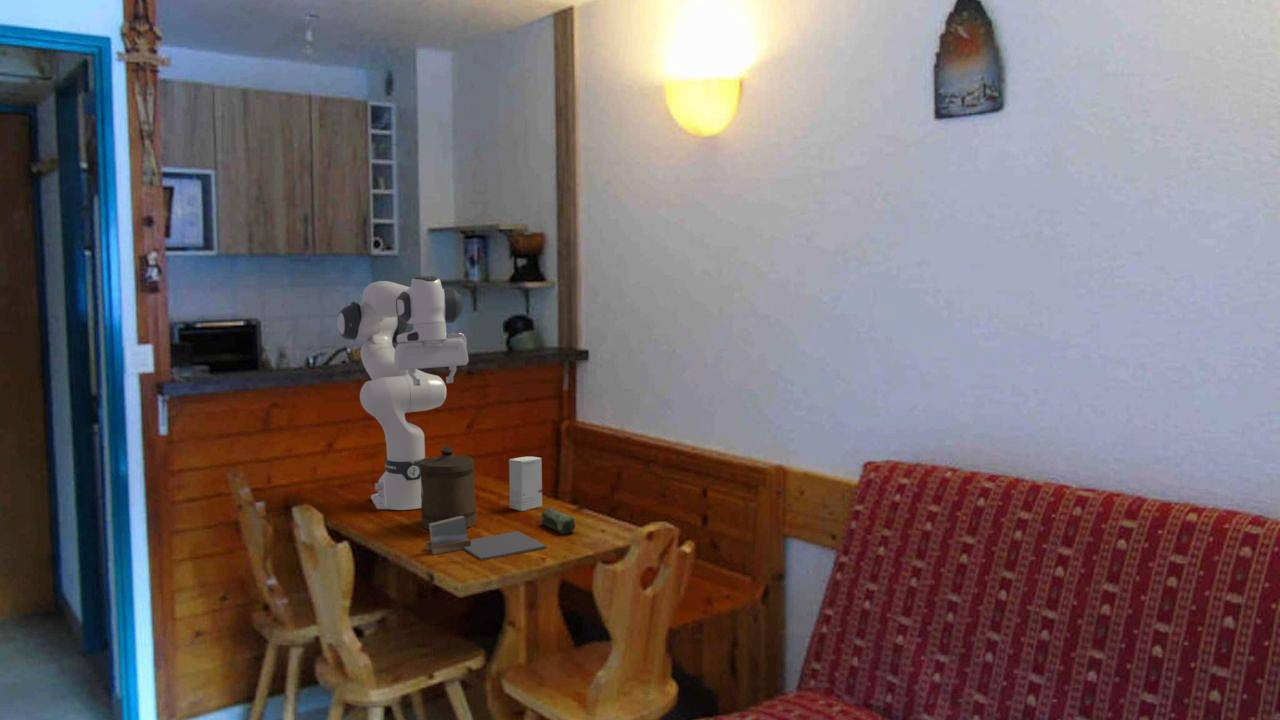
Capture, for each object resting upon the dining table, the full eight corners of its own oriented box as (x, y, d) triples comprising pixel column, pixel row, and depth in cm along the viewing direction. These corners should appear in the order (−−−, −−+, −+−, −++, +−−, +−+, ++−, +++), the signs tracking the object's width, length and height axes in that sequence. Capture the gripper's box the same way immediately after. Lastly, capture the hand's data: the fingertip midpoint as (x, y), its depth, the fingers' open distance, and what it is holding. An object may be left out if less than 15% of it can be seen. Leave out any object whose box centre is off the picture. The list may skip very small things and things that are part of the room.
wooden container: (444, 514, 289) (442, 439, 286) (486, 521, 282) (484, 444, 279) (410, 527, 276) (408, 449, 273) (453, 534, 269) (451, 454, 266)
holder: (425, 549, 256) (425, 541, 256) (461, 542, 262) (461, 535, 261) (433, 554, 251) (433, 546, 251) (470, 547, 257) (470, 540, 257)
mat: (455, 544, 260) (455, 542, 260) (518, 533, 270) (518, 531, 270) (481, 560, 247) (481, 558, 246) (546, 548, 256) (546, 545, 256)
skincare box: (521, 511, 291) (520, 461, 290) (508, 508, 295) (507, 458, 294) (543, 506, 297) (542, 457, 296) (530, 502, 301) (529, 454, 300)
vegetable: (579, 533, 270) (578, 515, 269) (562, 536, 267) (562, 518, 266) (553, 522, 281) (552, 504, 281) (536, 525, 278) (536, 507, 278)
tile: (432, 550, 255) (428, 523, 254) (464, 541, 260) (461, 515, 259) (434, 552, 254) (431, 525, 252) (467, 543, 258) (464, 517, 257)
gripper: (462, 332, 283) (465, 381, 284) (390, 336, 273) (394, 387, 274) (469, 331, 278) (473, 381, 278) (397, 336, 268) (400, 387, 268)
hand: (433, 384), depth 276 cm, fingers open, 8 cm apart
